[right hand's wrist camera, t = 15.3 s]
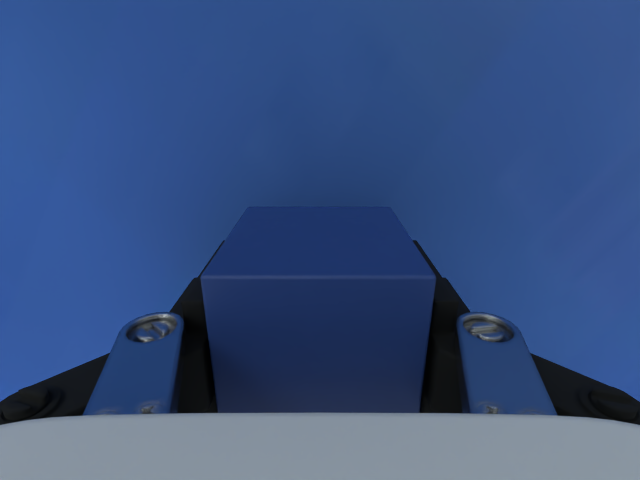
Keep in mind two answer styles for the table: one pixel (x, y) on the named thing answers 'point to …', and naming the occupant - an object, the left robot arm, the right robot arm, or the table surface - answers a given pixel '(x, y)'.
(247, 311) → the brick
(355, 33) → the table surface
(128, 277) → the table surface
